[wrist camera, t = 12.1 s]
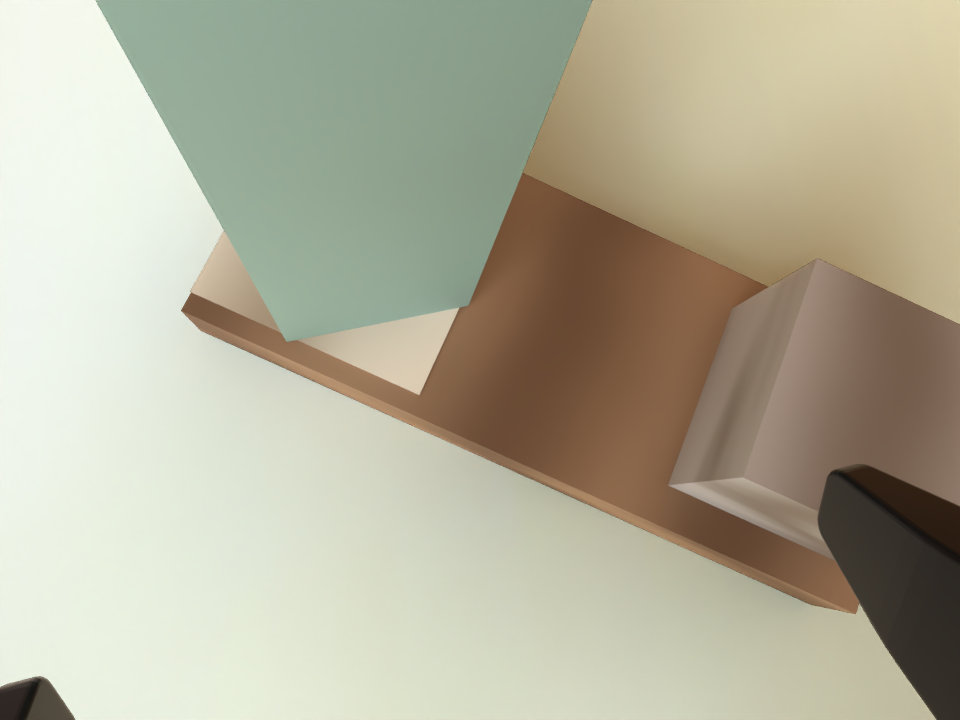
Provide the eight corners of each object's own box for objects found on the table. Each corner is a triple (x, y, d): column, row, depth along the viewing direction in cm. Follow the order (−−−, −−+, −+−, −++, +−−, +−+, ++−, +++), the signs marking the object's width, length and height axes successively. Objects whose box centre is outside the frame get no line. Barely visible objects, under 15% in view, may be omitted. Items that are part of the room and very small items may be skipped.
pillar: (468, 305, 19) (642, -123, 6) (286, 342, 18) (62, -61, 5) (428, 141, 20) (510, -540, 7) (252, 169, 19) (-16, -535, 6)
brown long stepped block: (880, 374, 22) (1058, 324, 16) (811, 604, 21) (980, 640, 15) (318, 115, 22) (294, -33, 16) (200, 330, 20) (125, 254, 14)
